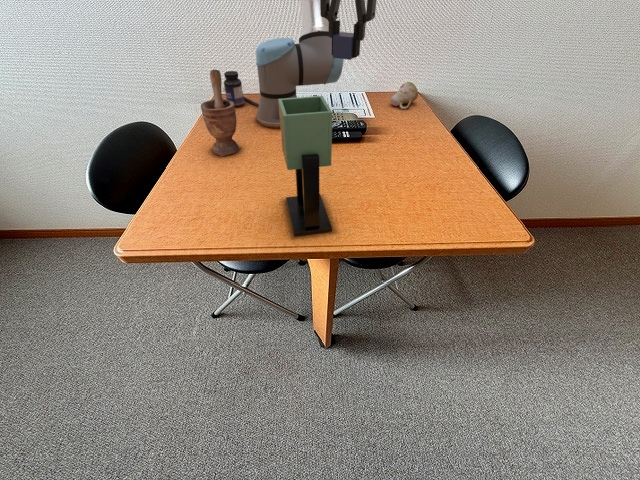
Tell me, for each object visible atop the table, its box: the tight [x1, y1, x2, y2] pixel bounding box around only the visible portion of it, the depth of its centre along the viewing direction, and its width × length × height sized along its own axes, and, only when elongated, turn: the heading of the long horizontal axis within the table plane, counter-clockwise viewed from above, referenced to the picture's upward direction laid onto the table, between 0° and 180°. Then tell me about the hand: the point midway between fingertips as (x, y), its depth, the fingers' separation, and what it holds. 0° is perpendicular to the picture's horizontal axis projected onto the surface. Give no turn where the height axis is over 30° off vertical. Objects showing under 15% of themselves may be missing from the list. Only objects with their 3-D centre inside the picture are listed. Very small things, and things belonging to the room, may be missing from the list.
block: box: [333, 31, 354, 61], centre depth 78 cm, size 4×4×4 cm
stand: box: [285, 154, 333, 237], centre depth 69 cm, size 8×13×17 cm, turn 11°
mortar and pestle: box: [200, 69, 240, 157], centre depth 93 cm, size 12×9×20 cm
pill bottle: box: [223, 70, 245, 108], centre depth 122 cm, size 6×6×11 cm
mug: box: [390, 81, 419, 110], centre depth 124 cm, size 8×10×10 cm
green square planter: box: [278, 95, 333, 171], centre depth 62 cm, size 8×8×10 cm
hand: (345, 54), depth 79 cm, fingers closed on block, 4 cm apart
